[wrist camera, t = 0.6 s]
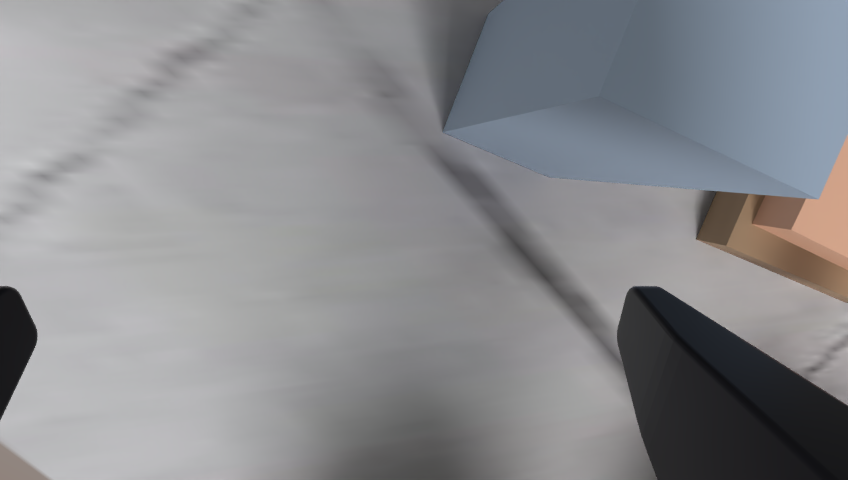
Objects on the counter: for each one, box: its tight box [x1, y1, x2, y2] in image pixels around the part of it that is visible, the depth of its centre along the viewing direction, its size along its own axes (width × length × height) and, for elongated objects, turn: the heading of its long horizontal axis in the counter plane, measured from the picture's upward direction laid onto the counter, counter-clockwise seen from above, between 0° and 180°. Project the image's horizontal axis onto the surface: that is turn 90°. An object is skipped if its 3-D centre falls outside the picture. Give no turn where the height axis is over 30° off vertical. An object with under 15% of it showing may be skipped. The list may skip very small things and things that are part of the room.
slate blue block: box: [443, 0, 848, 199], centre depth 16 cm, size 5×5×13 cm
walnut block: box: [697, 191, 848, 303], centre depth 25 cm, size 9×9×2 cm
